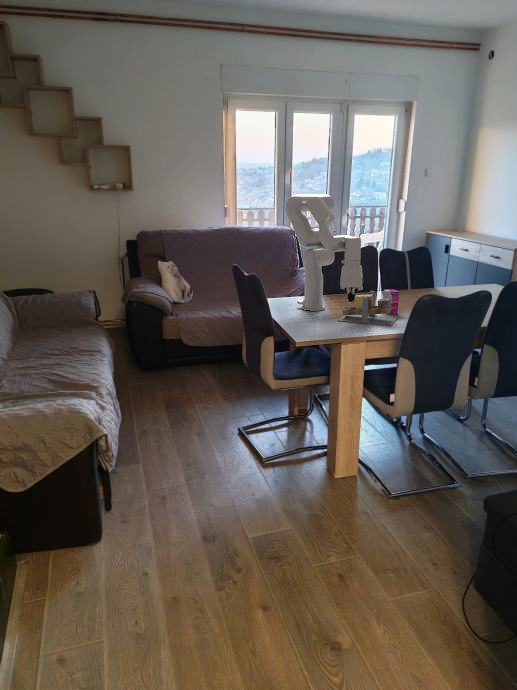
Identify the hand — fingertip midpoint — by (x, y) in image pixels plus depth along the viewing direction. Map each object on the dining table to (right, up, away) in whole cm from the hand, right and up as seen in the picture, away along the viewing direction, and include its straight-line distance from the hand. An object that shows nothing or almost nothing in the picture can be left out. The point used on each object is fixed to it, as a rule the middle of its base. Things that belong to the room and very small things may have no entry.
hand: (351, 301), depth 248 cm
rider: (+6, -4, -2) cm, 8 cm away
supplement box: (+22, -5, +12) cm, 25 cm away
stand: (+8, -9, -1) cm, 12 cm away
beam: (+7, -6, -2) cm, 10 cm away
